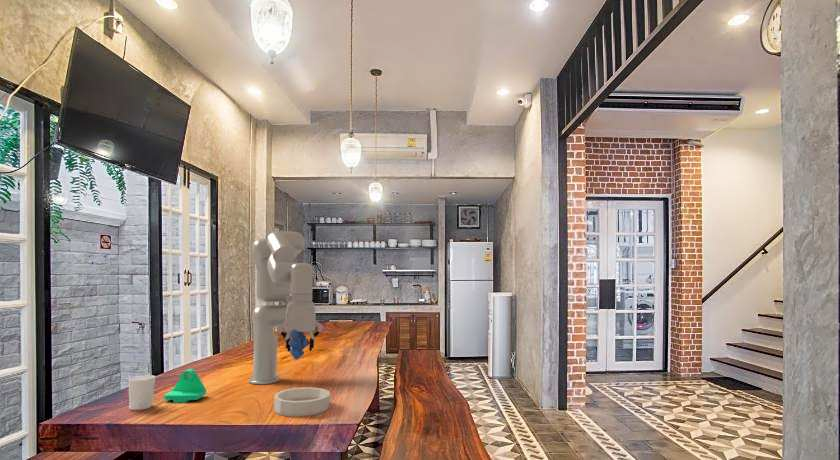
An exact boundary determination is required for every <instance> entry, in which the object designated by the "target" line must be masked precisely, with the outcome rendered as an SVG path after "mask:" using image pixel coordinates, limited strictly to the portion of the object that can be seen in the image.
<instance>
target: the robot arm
mask: <svg viewBox="0 0 840 460" xmlns="http://www.w3.org/2000/svg"><path fill="white" fill-rule="evenodd" d="M304 246H305V237H304V235H303V234H301V233H300V232H298V231H289V230H288V231H287V230H275V231H273V232H271V233H269V234H268V236H267V238H261V239H257V240H255V241H254V242H253V244H252V249H251V250H252V251H251V252H252V253H251V254H252V257H253V262H254V265H255V267H256V268H255V269H256V288H255V289H256V299H257V300H258V301H259V302H262V303H280V302H281V303H282V304H269V305H267V304H266V305H259V306H257V307H255V308H254V309H253V312H252V325H253V357H252V359H253V361H252V362H253V364H252V368H253V369H252V376H251V377H249V378H248V383H250V384H253V385H269V384H275V383H277V382H279V381H280V380H281V376H279V375H277V369H278V366H277V365H278V362H277V361H278V336H277V334H276V333H275V332H274V330H273V329H274V328H276V331H277V332H278V333H279V334H280V335H281V336H282V337H283V338H284V339H285V349H286V350H287V353H288V352H289V351H290V349H291V348H292V347H290V345H289V344H288V343H289V341H290V340H291V339H292V338H291V336H290V333H291V331H293V330H296V331H297V332H304V333H308V334H309V336H310V337H309V342H310V343H309V344H308V347H309V352H312V350H313V349H314V347H315V338H316V337H318V335H319V334H320V333H322V331H323V330H324V329H325V328H324V326H323V325H322V324H321V323H320V322H319V321H318V320H316V305H315V303H314V302H313V284H314V283H313V279H314V278H313V277H314V267H313V265H312V264H311V263H305V262H293V261H295V259H296V257H297V256H298V255H299V254H301V252H302V251H303V250H304V248H305V247H304ZM316 327H317V328H318V329H317V330H316V331H315V329H316ZM283 328H284V330H285V331H284V330H283ZM314 331H315V332H314ZM286 332H287V333H286ZM289 353H290V352H289Z"/></svg>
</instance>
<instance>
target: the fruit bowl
mask: <svg viewBox="0 0 840 460" xmlns="http://www.w3.org/2000/svg"><path fill="white" fill-rule="evenodd" d="M273 398H274V399H273V411H274V413H275V414H276V415H279V416H283V417H290V418H299V417H300V418H302V417H312V416H316V415H319V414H323V413H325V412H327V411H328V410H329V409H330V405H331V404H330V403H331V401H330V400H331V399H330V398H331V394H330V391H329V390H327V389H325V388H320V387H319V388H318V387H307V386H306V387H295V388H288V389H284V390H281V391H279V392H277V393H275V394H274V397H273Z"/></svg>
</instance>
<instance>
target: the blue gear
mask: <svg viewBox="0 0 840 460" xmlns="http://www.w3.org/2000/svg"><path fill="white" fill-rule="evenodd" d="M290 339H291V340H290V341H289V343H288V344H289V345H290V347H291V348H290V351H289V354H290V356H292V357H293V359H294V360H299V359H300V358H301V357H303V356H304V354H305V351H304V350H305V349H306V347H309V345H310V340H309V339H308V338H307V335H306V334H305V332H297V331H296V330H293V331H291V333H290Z"/></svg>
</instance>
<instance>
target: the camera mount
mask: <svg viewBox="0 0 840 460" xmlns="http://www.w3.org/2000/svg"><path fill="white" fill-rule="evenodd" d="M205 395H207V389H206V386H205V385H204V384H203V382H202V380H201V378H200V376H199V375H198V373H197V371H196V370H195V369H194V368H188V369H187V370H185V371H183V372H182V373H181V374H180V378H179V379H178V380H177V382H176V384H174V387H173V388H172V390H170V391H169V392H167V393H165V394H164V397H163V399H164V400H165V401H171V400H172V402H173V403H188V402H189V401H195V400H196V401H197V400H199V399H201V398H202V397H204V396H205Z"/></svg>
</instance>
